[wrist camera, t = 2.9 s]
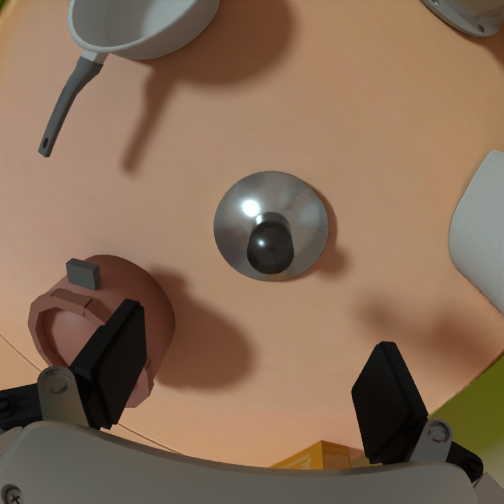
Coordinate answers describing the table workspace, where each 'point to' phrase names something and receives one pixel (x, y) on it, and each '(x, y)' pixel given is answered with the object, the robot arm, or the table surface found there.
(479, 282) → the toilet tissue
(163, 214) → the table surface
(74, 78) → the saucepan
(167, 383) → the table surface
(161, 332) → the pot
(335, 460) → the cereal box
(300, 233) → the lid
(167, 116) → the table surface
